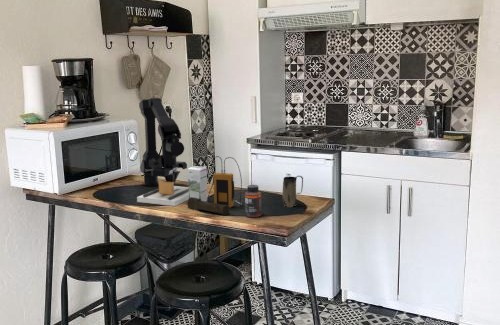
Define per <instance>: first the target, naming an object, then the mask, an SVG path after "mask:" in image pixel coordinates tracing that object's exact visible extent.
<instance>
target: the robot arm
mask: <svg viewBox="0 0 500 325" xmlns="http://www.w3.org/2000/svg"><path fill="white" fill-rule="evenodd" d="M138 104H139V105H138V108H139V110H140V114H141V116H142V117H143V119H144V130H145V132H144V133H145V134H144V137H145V152H144V153H143V155H142V160H141V163H140V167H139V169H140V170H139V171H140V173H142V174H143V177H144V178H143V180H144V183H142V184H141V185H142V186H147V187H156V186H157V185H158V186H159V177H163V178H164V179H165V181H169V182H174V185H175V183H176V181H177V179H178V177H179V175H180V173H181V171H178V169H182V170H186V169H188V164H187V163H186V161H178V160H177V157H179V156H181V155H182V154H184V152H185V146H184V143H182V142H181V141H180V140H181V139H182V133H181V131H180V128H179V125H178V124H177V122H176V121H175V120H174V118H171V117H170V116H169V115H168V113H167V111H166V108H165V107H164V105H163V102H162V99H161V98H159V97H150V98H147V99H146V98H145V99H141V101H139V103H138ZM156 121H157V123H158V125H157V132H158V134H159V137H160V140H161V154H159V153H158V151H157V134H156Z"/></svg>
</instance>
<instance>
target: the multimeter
mask: <svg viewBox="0 0 500 325" xmlns="http://www.w3.org/2000/svg"><path fill="white" fill-rule="evenodd" d="M216 158H219V159H220V161H221V162H220V163H221V164H223V165H220V166H221V171H220V172H216V173H213V172H211V174H212V175H211V176H212V180H213V181H212V185H211V187H210V190H209V192H208V194H207V200H208V199H209V197H210V194H211V191H212V188H213V199H214V200H213V203H217V204H221V205H228V206H229V209H230V208H232V207H234V205H235V204H234V202H235V200H234V199H235V181H234V174H233V173H228V172H227V173H226V164H225V162H226V159H233V160H234V161H235V163H236V166H237V168H238V171H239V175H240V176H239V177H242V174H241V169H240V166H239V165H238V162H237V160H236V159H235V158H234V157H230V156H228V157H226V158H225V159H224V161H223V158H221V157H220V156H218V155H217V156H215V157H214V158H213V159H212V162H211V168H210V169H211V171H213V163H214V161H215V160H216ZM242 186H243V182H242V178H240V190H242V188H243V187H242ZM239 198H240V199H239V201H236V203H237V204H239V205H240V206H242V207H245V206H244V204H243V203H242V194H240V197H239ZM208 201H209V200H208ZM208 201H206V202H208Z"/></svg>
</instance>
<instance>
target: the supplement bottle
mask: <svg viewBox="0 0 500 325" xmlns="http://www.w3.org/2000/svg"><path fill="white" fill-rule="evenodd" d="M246 188H247V190H246V191H245V193H244V204H245V206H244V207H245V211H244V212H245V216H246V217H247V218H251V217H256V218H259V216H260V217H261V216H262V213H263V212H262V210H263V209H262V192H261V191H260V190H259V185H258V184H249V185H247V187H246Z"/></svg>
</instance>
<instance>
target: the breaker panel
mask: <svg viewBox="0 0 500 325" xmlns="http://www.w3.org/2000/svg"><path fill="white" fill-rule="evenodd" d="M188 199H189V188H188V186H178V185H174V194H172V195H169V194H159V187H157V188H155V189H154V190H150V191H148V192H146V193H144V194H142V195H139V196H137V197H136V203H144V204H153V205H154V204H155V205H162V206H172V207H176V206H178V205H180V204H182V203H184V202H186V201H187V202H188Z"/></svg>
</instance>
